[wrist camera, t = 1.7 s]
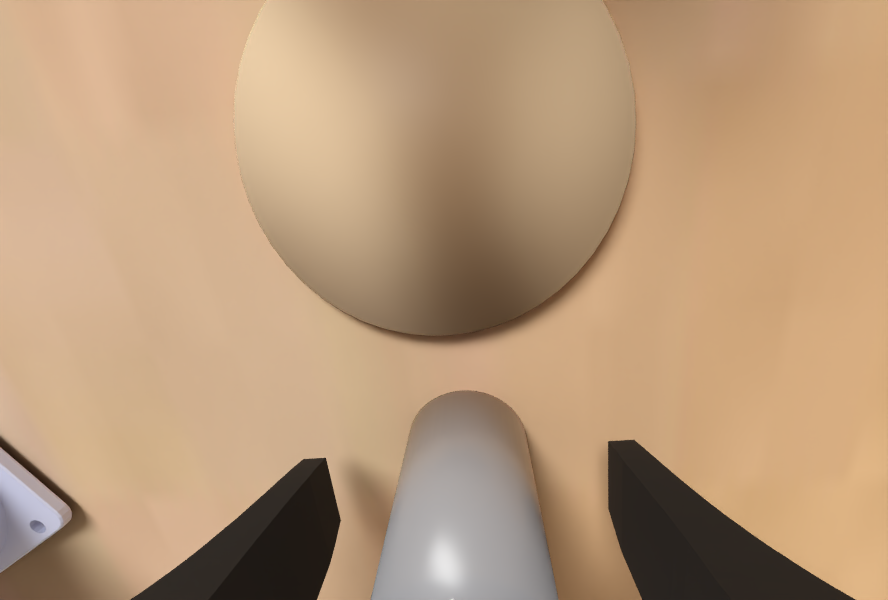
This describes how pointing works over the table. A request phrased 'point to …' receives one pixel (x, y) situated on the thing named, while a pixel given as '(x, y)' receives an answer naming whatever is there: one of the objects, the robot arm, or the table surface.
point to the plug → (466, 509)
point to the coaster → (434, 151)
